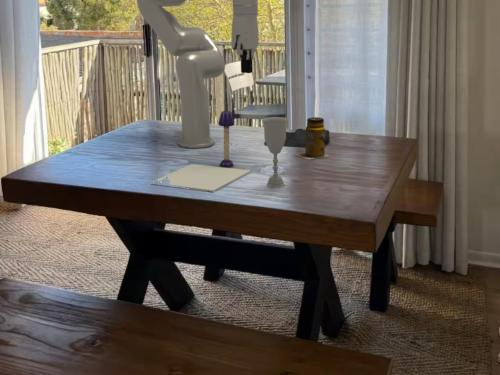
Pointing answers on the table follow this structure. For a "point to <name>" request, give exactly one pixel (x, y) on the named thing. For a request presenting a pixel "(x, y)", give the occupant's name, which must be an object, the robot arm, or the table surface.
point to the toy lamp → (226, 136)
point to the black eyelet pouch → (300, 138)
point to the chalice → (275, 144)
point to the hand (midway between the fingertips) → (246, 72)
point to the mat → (204, 177)
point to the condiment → (314, 139)
